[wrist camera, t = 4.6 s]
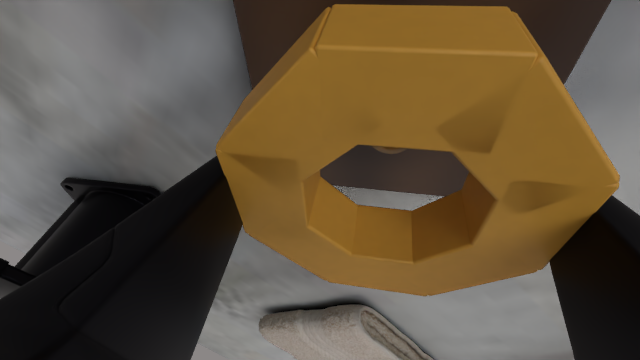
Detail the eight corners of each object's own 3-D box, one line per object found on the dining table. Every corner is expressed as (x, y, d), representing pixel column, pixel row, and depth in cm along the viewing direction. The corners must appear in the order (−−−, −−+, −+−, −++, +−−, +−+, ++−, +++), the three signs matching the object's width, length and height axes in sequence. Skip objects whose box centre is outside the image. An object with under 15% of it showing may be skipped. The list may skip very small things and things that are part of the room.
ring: (274, 227, 11) (259, 273, 10) (218, 1, 6) (173, 40, 5) (494, 254, 10) (506, 309, 9) (660, 7, 5) (743, 60, 4)
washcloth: (355, 368, 40) (353, 397, 38) (256, 308, 31) (246, 342, 29) (450, 368, 34) (454, 403, 32) (362, 293, 25) (358, 335, 23)
